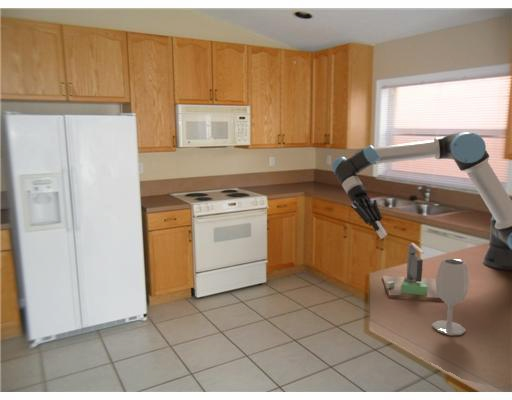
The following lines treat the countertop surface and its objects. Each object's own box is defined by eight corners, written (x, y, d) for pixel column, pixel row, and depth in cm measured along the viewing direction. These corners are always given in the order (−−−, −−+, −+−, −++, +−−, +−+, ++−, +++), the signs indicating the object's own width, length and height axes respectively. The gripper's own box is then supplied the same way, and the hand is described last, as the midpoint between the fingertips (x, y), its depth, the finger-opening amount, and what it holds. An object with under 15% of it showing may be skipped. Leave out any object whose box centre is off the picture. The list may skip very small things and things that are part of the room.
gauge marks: (428, 291, 148) (428, 283, 147) (426, 296, 143) (426, 288, 143) (387, 284, 154) (388, 277, 154) (384, 289, 150) (385, 281, 149)
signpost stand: (402, 278, 160) (404, 241, 158) (414, 279, 160) (416, 241, 157) (413, 292, 146) (416, 251, 144) (426, 293, 146) (429, 251, 143)
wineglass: (426, 325, 124) (430, 259, 121) (447, 320, 127) (452, 255, 124) (449, 339, 116) (455, 267, 113) (471, 333, 119) (477, 263, 116)
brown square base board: (432, 281, 161) (432, 278, 161) (446, 301, 142) (446, 298, 142) (382, 278, 165) (382, 275, 164) (389, 297, 145) (389, 294, 145)
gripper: (361, 193, 177) (390, 239, 166) (338, 196, 171) (366, 243, 159) (371, 182, 172) (401, 229, 160) (347, 184, 165) (377, 233, 154)
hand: (384, 236), depth 160 cm, fingers closed
